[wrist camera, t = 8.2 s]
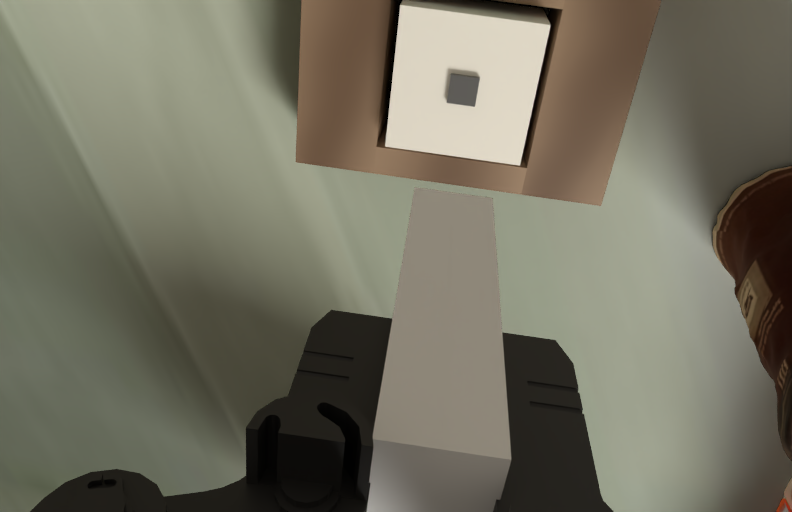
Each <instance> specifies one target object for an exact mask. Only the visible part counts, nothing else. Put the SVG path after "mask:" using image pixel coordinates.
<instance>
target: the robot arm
mask: <svg viewBox="0 0 792 512" xmlns="http://www.w3.org/2000/svg"><path fill="white" fill-rule="evenodd" d="M582 410H583V408H582V403H581V399H580V394H579V393H578V384H577V380H576V375H575V370H574V365H573V363H572V361H571V360H570V359H569V357H568V356H567V355H566V353H565V352H564V351H563V350H562V348H561V347H560V346H559V344H558V343H557V342H556V340H550V339H543V338H537V337H530V336H523V335H516V334H509V333H502V322H501V308H500V294H499V280H498V266H497V252H496V238H495V224H494V210H493V198H489V197H481V196H474V195H467V194H460V193H453V192H446V191H438V190H431V189H424V188H417V187H415V189H414V195H413V201H412V207H411V213H410V218H409V224H408V230H407V236H406V242H405V248H404V254H403V260H402V266H401V272H400V277H399V283H398V289H397V295H396V301H395V307H394V313H393V319H390V318H383V317H376V316H369V315H363V314H356V313H349V312H342V311H335V310H331V311H330V312H328V313H327V314H326V315H325V316H324V317H323V318H322V319H321V320H319V321H318V322H317V323H316V324H315V325H314V326H313V327H312V328H311V331H310V334H309V337H308V339H307V342H306V345H305V348H304V353H303V355H302V357H301V360H300V363H299V366H298V369H297V374H296V375H295V377H294V380H293V383H292V386H291V389H290V392H289V395H288V396H287V397H283V398H280V399H276V400H274V401H273V402H271V403H270V404H268V405H267V406H265V407H264V408H262V409H260V410H259V411H257V413H256V414H255V416H254V417H253V419H252V420H251V422H250V423H249V424H248V426H247V427H246V476H245V477H244V478H242V479H241V480H239V481H237V482H234V483H232V484H230V485H227V486H225V487H223V488H218V489H214V490H209V491H205V492H198V493H190V494H182V495H174V496H166V497H163V495H162V493H161V491H160V490H159V488H158V486H157V484H155V483H154V482H152V481H150V480H149V479H147V478H146V477H144V476H143V475H141V474H140V473H135V472H129V471H124V470H119V469H114V470H105V471H97V472H90V473H88V474H85V475H83V476H80V477H78V478H75V479H73V480H70V481H68V482H65V483H64V484H63V485H61V486H60V487H58V488H57V489H56V490H54V491H53V492H52V493H50V494H49V495H48V496H46V497H45V498H44V499H43V500H42V501H41V502H39V503H38V504H37V505H36V506H35V507H34V508H33V509H32V510H31V511H30V512H613V511H612V509H611V508H610V507H609V506H608V505H607V504H606V503H605V502H604V501H603V499H602V496H601V494H600V489H599V484H598V479H597V475H596V470H595V465H594V460H593V456H592V451H591V446H590V441H589V437H588V432H587V427H586V422H585V418H584V414H582Z"/></svg>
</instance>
